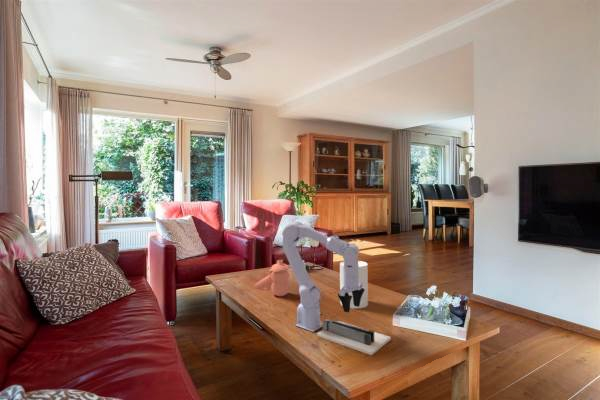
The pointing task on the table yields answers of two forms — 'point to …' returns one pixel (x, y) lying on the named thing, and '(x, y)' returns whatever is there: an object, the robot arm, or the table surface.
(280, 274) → the ceramic vessels
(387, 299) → the table surface
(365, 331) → the tongs arm
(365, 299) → the canister
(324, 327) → the tongs base
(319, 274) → the table surface
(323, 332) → the cutting board
